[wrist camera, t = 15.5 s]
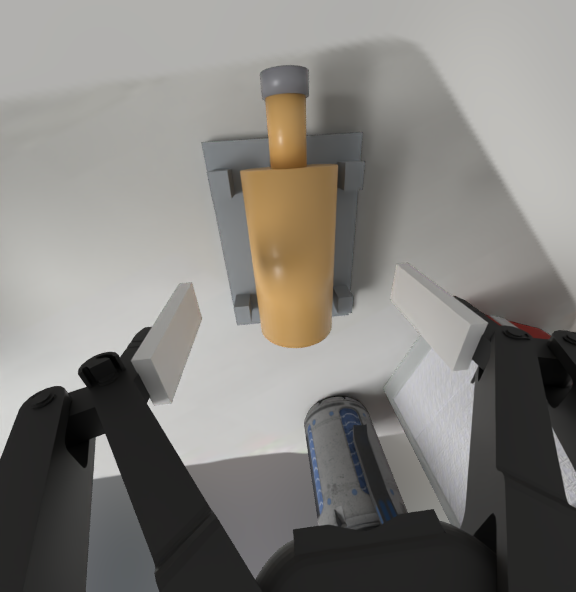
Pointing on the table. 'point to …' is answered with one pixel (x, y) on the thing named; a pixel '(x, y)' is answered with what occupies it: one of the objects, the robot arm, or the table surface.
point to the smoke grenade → (349, 467)
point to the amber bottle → (291, 219)
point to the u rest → (233, 224)
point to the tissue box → (448, 421)
